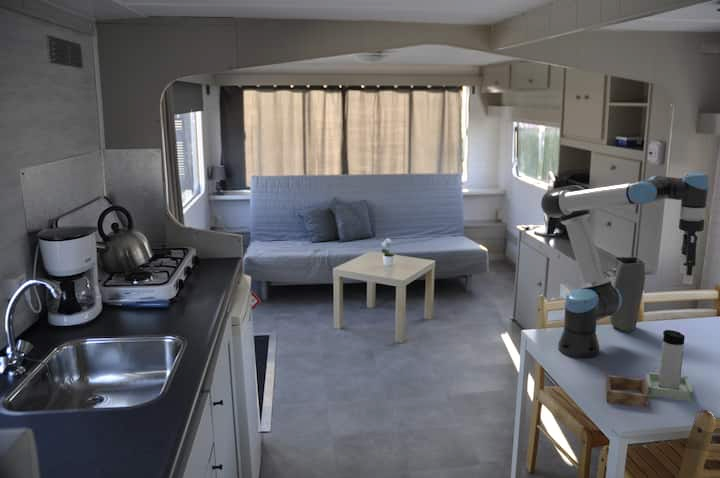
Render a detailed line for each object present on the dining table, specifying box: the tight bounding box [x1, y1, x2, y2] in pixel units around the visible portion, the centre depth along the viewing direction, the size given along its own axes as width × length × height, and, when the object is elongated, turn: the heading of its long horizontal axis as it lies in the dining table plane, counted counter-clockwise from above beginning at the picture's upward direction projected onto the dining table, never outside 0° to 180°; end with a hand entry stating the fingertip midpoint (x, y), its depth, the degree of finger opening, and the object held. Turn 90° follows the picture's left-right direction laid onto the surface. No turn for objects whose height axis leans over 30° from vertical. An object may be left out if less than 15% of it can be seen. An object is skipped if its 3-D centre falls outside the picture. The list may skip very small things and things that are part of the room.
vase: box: [609, 256, 646, 333], centre depth 252 cm, size 12×12×30 cm
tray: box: [644, 371, 694, 402], centre depth 202 cm, size 13×12×3 cm
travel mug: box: [658, 329, 686, 390], centre depth 200 cm, size 6×7×20 cm
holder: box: [605, 374, 649, 408], centre depth 199 cm, size 12×12×4 cm
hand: (685, 278), depth 211 cm, fingers open, 13 cm apart
